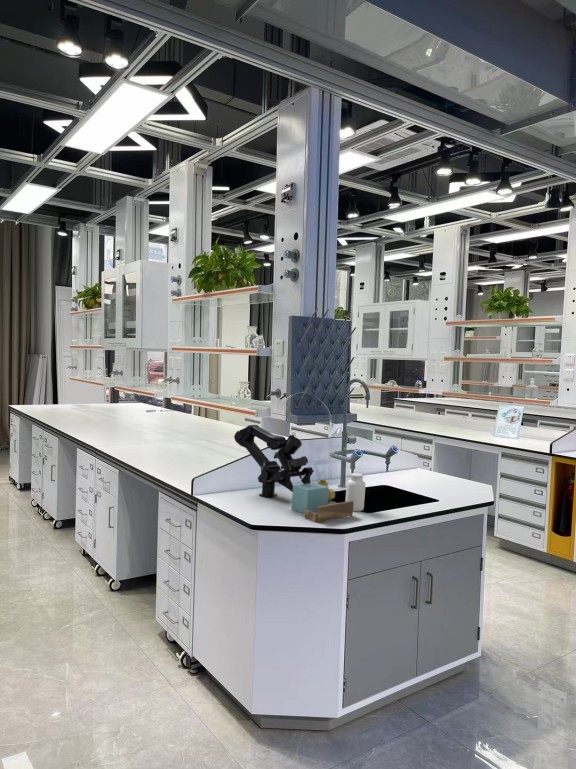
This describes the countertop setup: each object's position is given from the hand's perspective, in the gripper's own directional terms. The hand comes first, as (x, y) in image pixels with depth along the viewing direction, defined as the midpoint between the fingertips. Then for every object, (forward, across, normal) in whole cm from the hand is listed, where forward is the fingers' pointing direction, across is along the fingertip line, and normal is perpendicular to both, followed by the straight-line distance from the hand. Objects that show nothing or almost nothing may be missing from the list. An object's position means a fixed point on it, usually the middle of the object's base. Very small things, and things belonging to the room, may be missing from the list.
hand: (302, 491), depth 239 cm
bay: (+16, 0, -7) cm, 18 cm away
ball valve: (+1, +15, +9) cm, 17 cm away
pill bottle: (+14, +19, -4) cm, 24 cm away
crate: (+8, 0, +2) cm, 8 cm away
